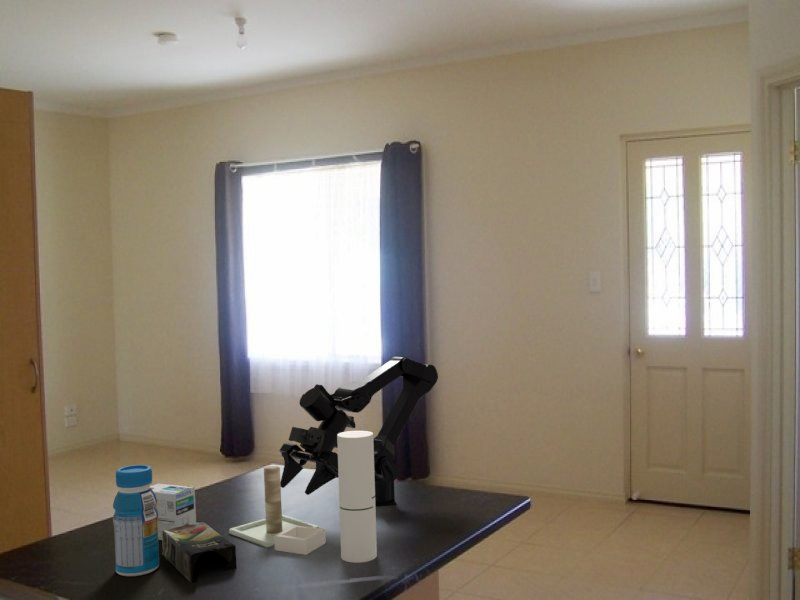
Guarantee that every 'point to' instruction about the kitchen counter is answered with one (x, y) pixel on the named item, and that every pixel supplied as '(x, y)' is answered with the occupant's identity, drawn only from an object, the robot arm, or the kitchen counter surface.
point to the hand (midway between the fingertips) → (293, 490)
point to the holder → (300, 539)
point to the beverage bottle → (135, 522)
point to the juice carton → (195, 547)
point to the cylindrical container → (357, 496)
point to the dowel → (273, 499)
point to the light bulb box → (174, 506)
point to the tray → (258, 530)
